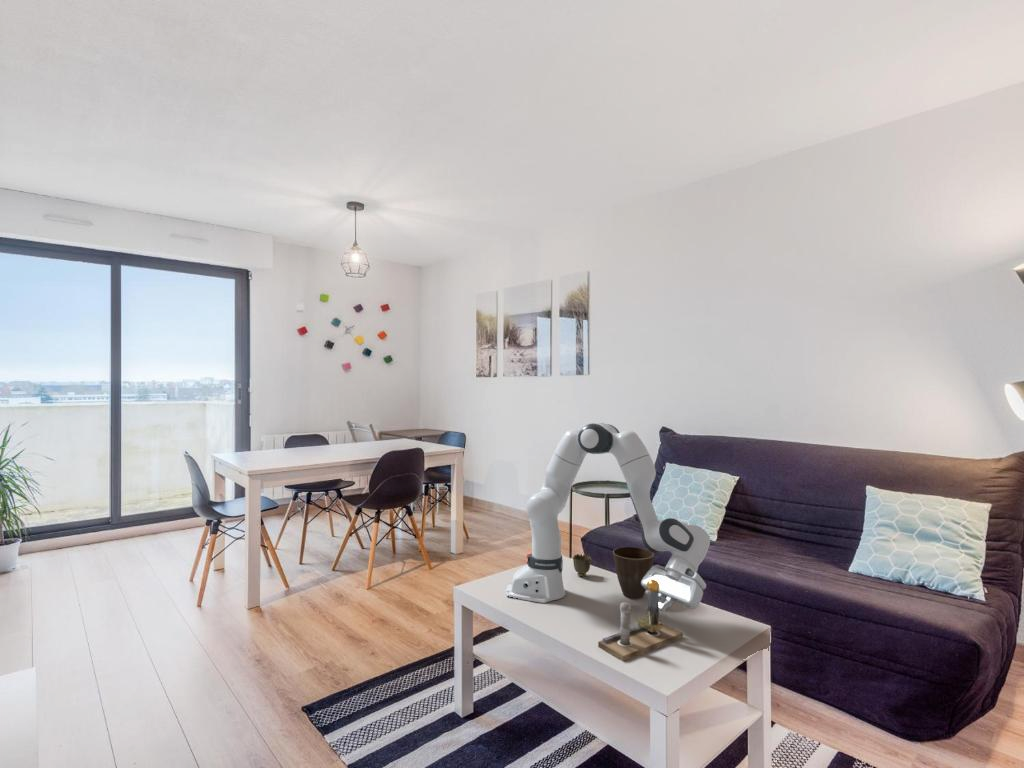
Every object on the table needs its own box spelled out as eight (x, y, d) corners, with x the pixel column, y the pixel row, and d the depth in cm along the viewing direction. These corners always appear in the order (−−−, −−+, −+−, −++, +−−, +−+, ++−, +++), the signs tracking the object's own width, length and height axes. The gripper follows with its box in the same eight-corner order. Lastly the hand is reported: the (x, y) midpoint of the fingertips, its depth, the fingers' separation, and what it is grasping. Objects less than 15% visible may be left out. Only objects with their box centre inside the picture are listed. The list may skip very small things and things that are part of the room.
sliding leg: (646, 624, 163) (646, 574, 163) (662, 631, 157) (662, 580, 158) (637, 627, 160) (637, 576, 161) (653, 635, 155) (653, 583, 155)
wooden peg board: (657, 625, 166) (657, 583, 166) (682, 637, 158) (682, 593, 158) (598, 646, 152) (598, 601, 152) (623, 661, 143) (623, 613, 144)
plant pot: (645, 607, 181) (645, 561, 181) (606, 597, 189) (606, 553, 190) (659, 593, 193) (659, 551, 194) (621, 585, 202) (621, 544, 202)
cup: (587, 580, 207) (587, 560, 207) (570, 577, 210) (570, 557, 210) (593, 574, 213) (593, 555, 213) (576, 571, 217) (576, 552, 217)
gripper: (649, 557, 173) (629, 592, 167) (702, 575, 156) (681, 615, 150) (658, 568, 175) (638, 603, 169) (711, 587, 158) (691, 627, 152)
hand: (659, 609), depth 159 cm, fingers closed
